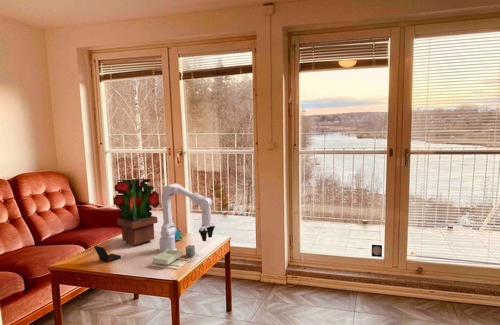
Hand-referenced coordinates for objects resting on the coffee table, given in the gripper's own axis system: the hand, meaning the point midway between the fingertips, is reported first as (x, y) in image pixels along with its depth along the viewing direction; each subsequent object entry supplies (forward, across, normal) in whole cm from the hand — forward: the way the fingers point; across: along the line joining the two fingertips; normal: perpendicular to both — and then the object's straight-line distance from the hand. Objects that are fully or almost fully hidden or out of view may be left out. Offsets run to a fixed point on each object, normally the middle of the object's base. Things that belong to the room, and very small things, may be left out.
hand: (207, 239), depth 207 cm
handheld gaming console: (+10, -25, +55) cm, 61 cm away
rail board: (+10, -18, +16) cm, 26 cm away
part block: (+10, -4, +10) cm, 15 cm away
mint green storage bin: (+10, -18, +17) cm, 27 cm away
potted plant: (+10, +8, +59) cm, 60 cm away
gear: (+10, +20, +36) cm, 42 cm away
